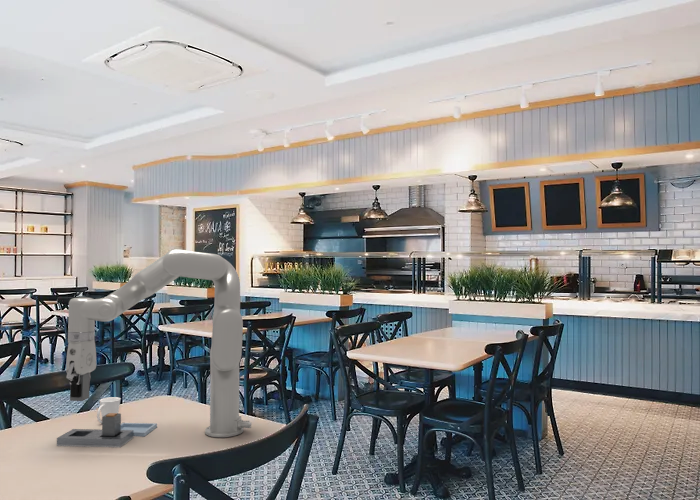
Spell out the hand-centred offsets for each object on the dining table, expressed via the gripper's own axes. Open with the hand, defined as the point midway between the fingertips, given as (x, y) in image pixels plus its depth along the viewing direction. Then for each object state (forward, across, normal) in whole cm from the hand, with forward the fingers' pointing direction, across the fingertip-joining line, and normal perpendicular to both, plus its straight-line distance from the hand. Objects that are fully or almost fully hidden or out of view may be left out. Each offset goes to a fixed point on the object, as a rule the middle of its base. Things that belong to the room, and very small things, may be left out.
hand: (80, 394), depth 174 cm
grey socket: (+15, 0, -5) cm, 16 cm away
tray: (+15, +11, -12) cm, 22 cm away
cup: (+15, +21, +2) cm, 26 cm away
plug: (+1, 0, 0) cm, 1 cm away
